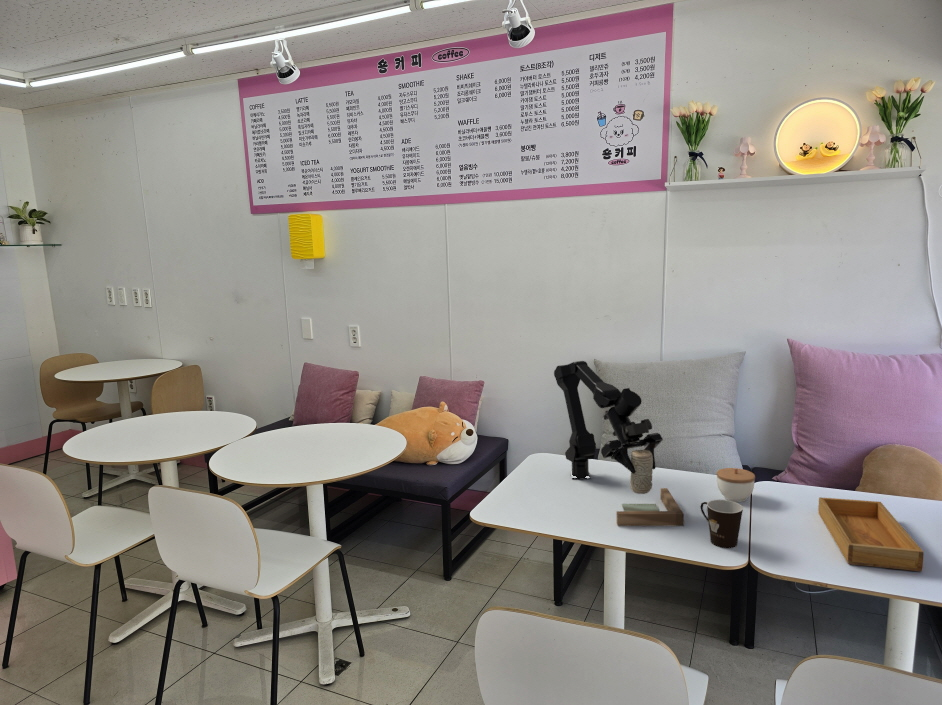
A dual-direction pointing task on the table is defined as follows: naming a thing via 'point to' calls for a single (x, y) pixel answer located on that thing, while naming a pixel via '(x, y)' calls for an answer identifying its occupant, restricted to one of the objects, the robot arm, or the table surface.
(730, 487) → the lidded jar
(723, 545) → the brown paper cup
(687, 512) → the table surface
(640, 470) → the carving
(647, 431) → the robot arm
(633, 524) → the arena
